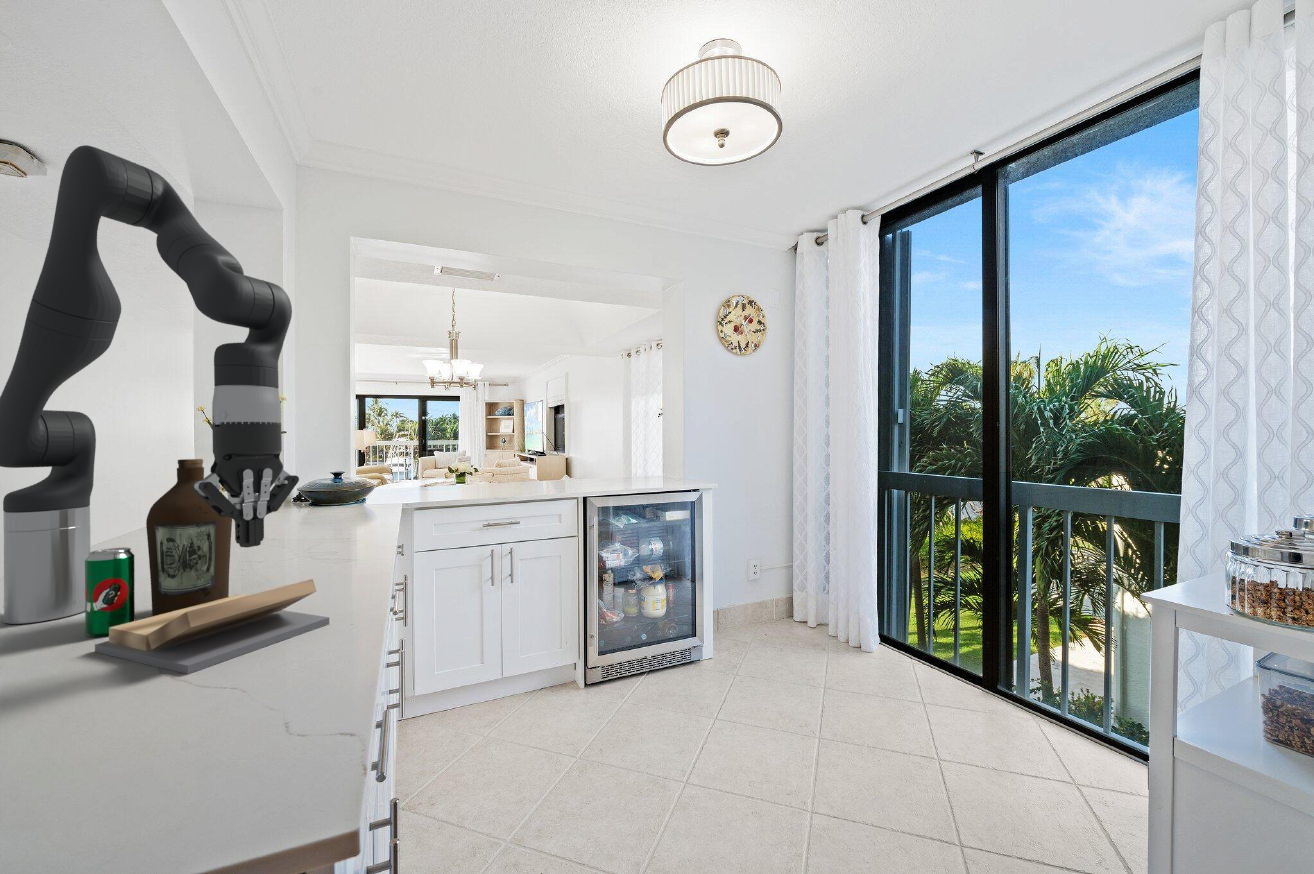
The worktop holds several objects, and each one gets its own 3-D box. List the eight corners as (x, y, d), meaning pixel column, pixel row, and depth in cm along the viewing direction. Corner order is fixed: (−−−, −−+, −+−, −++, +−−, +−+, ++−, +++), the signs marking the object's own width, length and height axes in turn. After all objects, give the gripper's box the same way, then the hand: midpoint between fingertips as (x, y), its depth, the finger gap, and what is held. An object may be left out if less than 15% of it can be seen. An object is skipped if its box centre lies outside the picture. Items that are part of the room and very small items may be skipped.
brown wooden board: (151, 649, 67) (147, 634, 67) (280, 610, 82) (276, 598, 82) (190, 627, 64) (186, 611, 64) (316, 591, 79) (312, 578, 79)
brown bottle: (155, 608, 88) (154, 459, 88) (236, 597, 94) (235, 457, 94) (138, 626, 79) (137, 461, 80) (228, 613, 85) (227, 459, 85)
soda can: (144, 626, 80) (143, 546, 80) (106, 638, 75) (105, 554, 75) (114, 625, 80) (114, 546, 80) (74, 637, 75) (74, 553, 75)
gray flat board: (94, 651, 70) (94, 644, 70) (242, 610, 87) (242, 604, 87) (188, 674, 63) (188, 665, 63) (329, 623, 80) (329, 617, 80)
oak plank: (109, 642, 70) (109, 627, 70) (240, 606, 85) (239, 594, 85) (146, 650, 67) (146, 635, 67) (275, 612, 82) (274, 599, 82)
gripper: (278, 422, 80) (280, 536, 80) (173, 420, 68) (175, 554, 68) (313, 421, 77) (315, 538, 77) (210, 418, 65) (212, 558, 65)
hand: (249, 546), depth 72 cm, fingers closed
